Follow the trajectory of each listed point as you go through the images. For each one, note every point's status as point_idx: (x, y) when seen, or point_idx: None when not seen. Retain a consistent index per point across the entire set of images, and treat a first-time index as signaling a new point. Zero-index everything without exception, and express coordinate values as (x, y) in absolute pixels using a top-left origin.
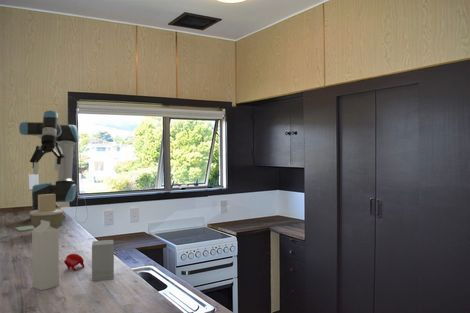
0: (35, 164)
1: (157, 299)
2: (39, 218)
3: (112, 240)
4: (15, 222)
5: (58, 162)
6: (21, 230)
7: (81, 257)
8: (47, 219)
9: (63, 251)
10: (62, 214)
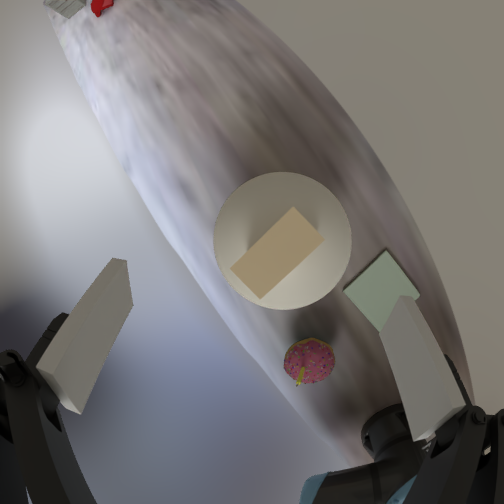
0: (436, 387)
1: None
2: None
3: (45, 2)
4: None
5: (57, 323)
6: (382, 253)
7: (91, 5)
8: None
9: (143, 55)
10: None
